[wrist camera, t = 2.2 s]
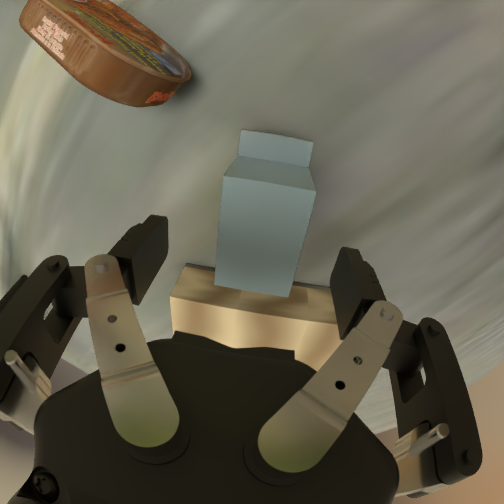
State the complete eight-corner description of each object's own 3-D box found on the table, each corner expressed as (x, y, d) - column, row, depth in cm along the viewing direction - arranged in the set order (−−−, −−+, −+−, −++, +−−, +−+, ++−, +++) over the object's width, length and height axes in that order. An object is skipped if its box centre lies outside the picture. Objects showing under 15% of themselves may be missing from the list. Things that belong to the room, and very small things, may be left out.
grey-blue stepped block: (307, 133, 17) (324, 158, 10) (284, 244, 22) (282, 316, 15) (249, 123, 17) (227, 141, 11) (234, 236, 22) (213, 304, 15)
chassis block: (360, 292, 24) (370, 328, 20) (303, 395, 35) (303, 422, 31) (186, 263, 24) (169, 296, 20) (191, 378, 35) (183, 404, 31)
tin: (208, 79, 16) (156, 71, 9) (177, 110, 17) (113, 126, 10) (93, -11, 11) (25, -27, 4) (71, 17, 12) (0, 12, 5)
